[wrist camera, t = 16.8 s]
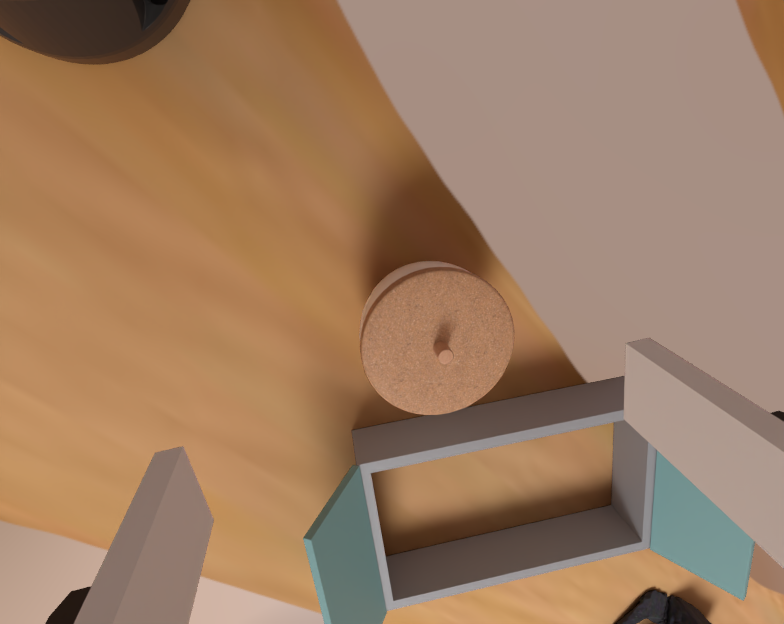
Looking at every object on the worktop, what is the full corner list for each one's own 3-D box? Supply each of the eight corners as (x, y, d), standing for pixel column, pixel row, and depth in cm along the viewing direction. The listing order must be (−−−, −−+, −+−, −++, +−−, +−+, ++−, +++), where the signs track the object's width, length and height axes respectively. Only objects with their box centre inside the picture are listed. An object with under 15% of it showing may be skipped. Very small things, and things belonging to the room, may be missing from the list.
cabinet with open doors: (337, 575, 47) (343, 703, 36) (306, 439, 42) (303, 541, 31) (655, 502, 51) (749, 599, 40) (665, 367, 45) (776, 437, 34)
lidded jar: (344, 364, 40) (353, 424, 31) (361, 238, 37) (376, 266, 28) (465, 373, 42) (504, 432, 33) (491, 255, 39) (542, 286, 30)
